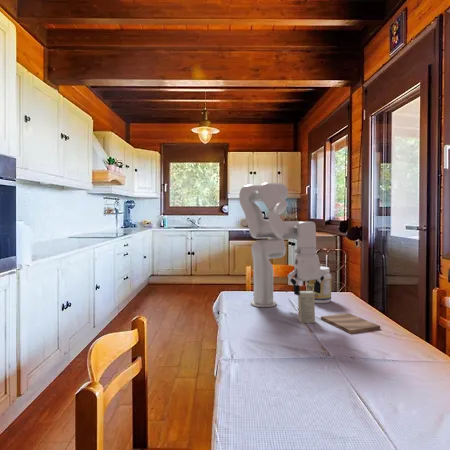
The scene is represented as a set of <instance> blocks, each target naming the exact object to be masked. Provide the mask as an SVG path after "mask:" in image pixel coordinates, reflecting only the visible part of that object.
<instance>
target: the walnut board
mask: <svg viewBox="0 0 450 450" xmlns="http://www.w3.org/2000/svg"><path fill="white" fill-rule="evenodd" d="M320 320H321V321H323V322H325V323H328V324H330V325H332V326H333V327H336V328H338V329H339V330H342V331H344V332H346V333H348V334H350V335H352V334H357V333H362V332H363V333H364V332H369V331H370V330H371V331H375V329H378V330H381V325H379V324H377V323H374V322H372V321H369V320H366V319H364V318H362V317H359V316H357V315H354V314H352V313H349V312H346V313H337V314H331V315H329V314H328V315H324V316H323V315H321V316H320ZM371 331H370V332H371Z"/></svg>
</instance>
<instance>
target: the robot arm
mask: <svg viewBox="0 0 450 450" xmlns="http://www.w3.org/2000/svg"><path fill="white" fill-rule="evenodd" d="M288 194H289V190H288V188H287V185H285V184H284V183H281V182H264V183H261V184H247V185H244V186H243V185H242V187H241V188H240V191H239V194H238V195H239V197H238V198H239V204H240V207H241V209H242V211H243V213H244V215H245V220H246V223H247V228H248V231H249V234H250V236H251V237H252V238H253V239H257V240H255V241H254V242H253V243H252V245H251V248H250V250H251V256H252V261H253V262H252V264H253V267H252V268H253V294H252V295H253V299H251V301H250V305H251V306H254V307H257V308H258V307H259V308H271V307H275V306H277V301H276V300H274V267H273V264H272V263H271V261H270V260H271V259H279V258H280V259H281V258H283V257H284V256H285V255H286V252H287V248H286V243H285V240H296V249H294V253H295V254H296V255H295V259H294V266H293V267H294V269H293V270H292V271H290V273H288V274H287V277H288V280H289V281H290V282H291V284H292V285H293V293H294V295H295V296H298V295H300V291H301V290H300V289H301V288H300V285H299V284H300V283H301V281H302V282H303V281H304V282H305V281H307V280H315V281H316V282H315V283H314V289H315V292H316V293H320V290H321V283H322V280H323V279H324V276H325V274H326V272H325V271H323V270H321V269H320V266H321V263H320V258H319V255H318V254H317V235H316V234H317V231H316V223H315V222H314V221H302V220H301V221H299V220H297V221H296V220H295V221H293V220H286V221H284V220H283V219H282V218H281V216H280V215H281V214H283V213H284V212H285V211H286V209H287V207H288V203H287V201H286V199H287V197H288ZM255 202H258V203H259V202H263V203H264V204H265V206H266V208H267V209H268V211H269V212H268V219H265V218H264V216H263V211H262V209H261V208H260V206H259V205H258V204H256V203H255Z"/></svg>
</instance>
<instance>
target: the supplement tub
mask: <svg viewBox="0 0 450 450" xmlns="http://www.w3.org/2000/svg"><path fill="white" fill-rule="evenodd" d="M320 269H321V270H323V271H325V272H326V274H325V276H324V279H323V280H322V283H321V290H320V293H316V292H315V289H314V283H315V282H316V281H315V280H307V281H306V283H305V284H306V286H305V287H306V289H305V291H313V292H314V303H315V304H327V303H330V302H331V301H332V274H331V273H330V272H331V271H330V267H327V266H323V265H320Z"/></svg>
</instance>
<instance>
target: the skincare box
mask: <svg viewBox="0 0 450 450" xmlns="http://www.w3.org/2000/svg"><path fill="white" fill-rule="evenodd" d="M297 296H298V298H297V302H298V303H297V304H298V307H297V308H298V321H299V323H303V324H304V323H305V324H306V323H309V324H310V323H316V313H315V312H316V311H315V310H316V307H315V305H316V303H314V292H313V291H306V290H300V295H297Z"/></svg>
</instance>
